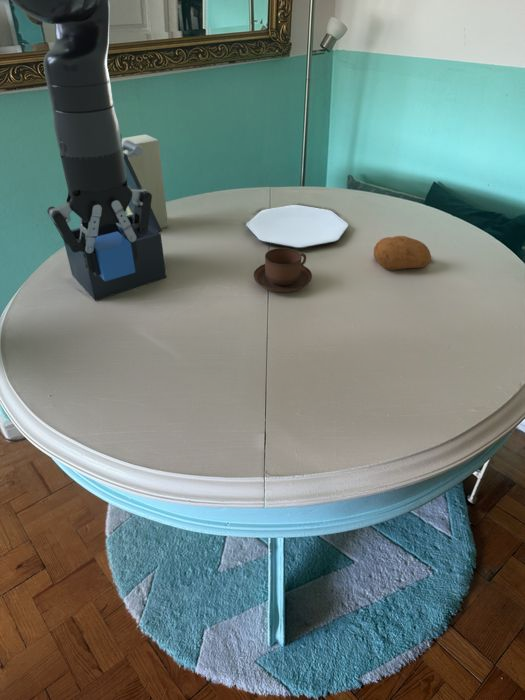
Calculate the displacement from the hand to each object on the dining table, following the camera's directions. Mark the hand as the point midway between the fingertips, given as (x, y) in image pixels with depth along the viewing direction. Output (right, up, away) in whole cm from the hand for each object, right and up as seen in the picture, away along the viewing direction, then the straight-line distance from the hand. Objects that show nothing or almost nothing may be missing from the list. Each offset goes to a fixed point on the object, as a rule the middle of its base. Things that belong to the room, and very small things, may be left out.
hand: (113, 268), depth 74 cm
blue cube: (0, 0, 0) cm, 0 cm away
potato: (+52, +6, +39) cm, 65 cm away
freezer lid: (-5, +20, +27) cm, 34 cm away
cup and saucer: (+26, +2, +34) cm, 42 cm away
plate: (+30, +18, +55) cm, 65 cm away
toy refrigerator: (-8, +20, +57) cm, 61 cm away
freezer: (-9, +4, +36) cm, 37 cm away
